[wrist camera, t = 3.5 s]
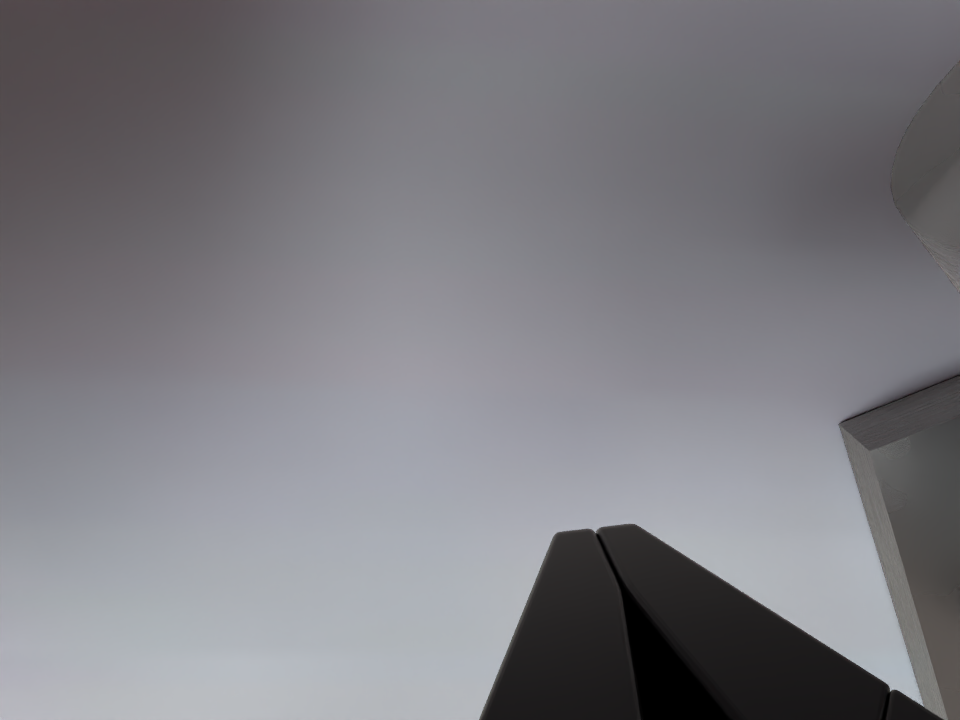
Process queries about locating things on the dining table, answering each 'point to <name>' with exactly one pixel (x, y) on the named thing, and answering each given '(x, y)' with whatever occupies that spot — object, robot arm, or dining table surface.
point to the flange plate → (917, 526)
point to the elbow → (933, 175)
